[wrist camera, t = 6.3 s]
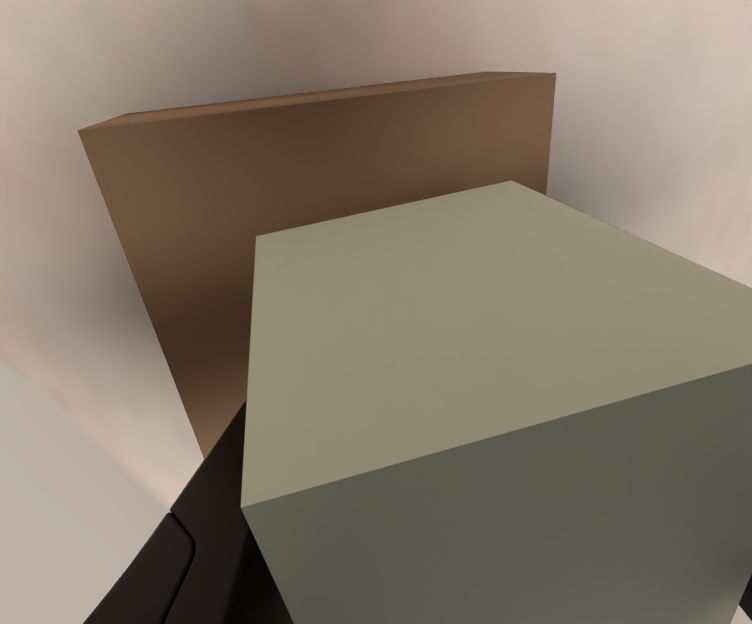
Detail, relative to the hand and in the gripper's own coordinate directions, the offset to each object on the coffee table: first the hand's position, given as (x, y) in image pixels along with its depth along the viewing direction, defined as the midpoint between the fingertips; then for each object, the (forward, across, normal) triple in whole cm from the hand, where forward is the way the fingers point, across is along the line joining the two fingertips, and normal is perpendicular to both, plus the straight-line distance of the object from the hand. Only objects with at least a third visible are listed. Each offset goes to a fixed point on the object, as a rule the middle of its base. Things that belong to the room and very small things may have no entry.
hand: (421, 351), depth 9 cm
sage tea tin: (+1, 0, 0) cm, 1 cm away
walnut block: (+7, +1, +1) cm, 7 cm away
